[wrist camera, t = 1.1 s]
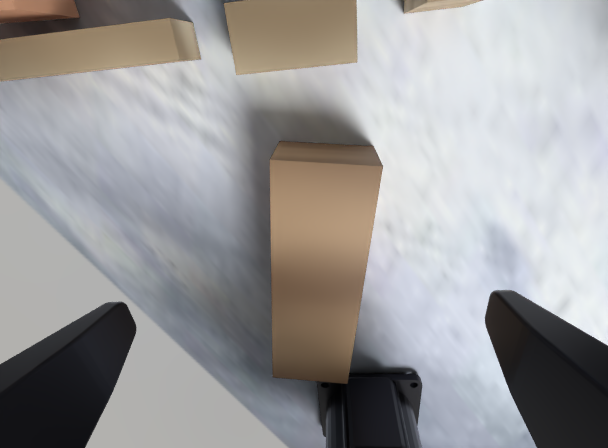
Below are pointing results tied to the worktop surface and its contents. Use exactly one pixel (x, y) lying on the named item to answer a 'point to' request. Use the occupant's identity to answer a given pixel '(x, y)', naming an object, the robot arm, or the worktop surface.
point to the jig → (183, 44)
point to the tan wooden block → (319, 254)
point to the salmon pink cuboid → (36, 10)
